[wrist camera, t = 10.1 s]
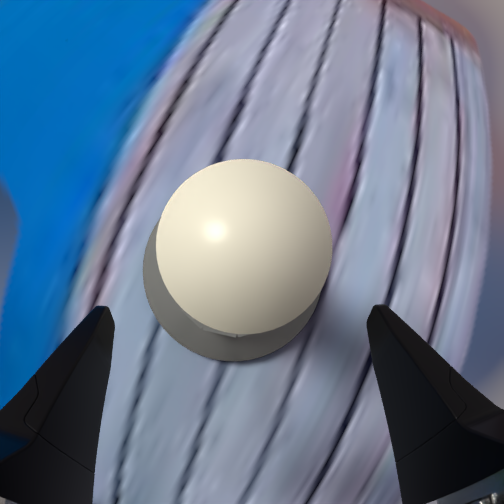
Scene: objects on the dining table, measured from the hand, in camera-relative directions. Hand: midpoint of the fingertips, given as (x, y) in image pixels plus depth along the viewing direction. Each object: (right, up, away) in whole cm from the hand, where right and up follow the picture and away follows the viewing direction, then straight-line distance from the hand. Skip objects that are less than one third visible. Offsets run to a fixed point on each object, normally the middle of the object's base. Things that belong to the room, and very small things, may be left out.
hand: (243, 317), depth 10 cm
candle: (-1, +1, +11) cm, 11 cm away
